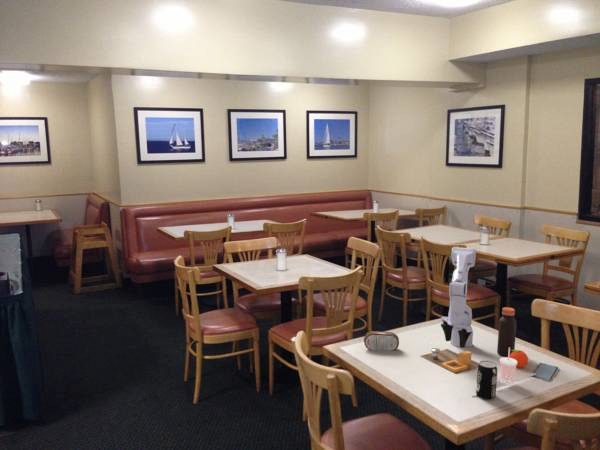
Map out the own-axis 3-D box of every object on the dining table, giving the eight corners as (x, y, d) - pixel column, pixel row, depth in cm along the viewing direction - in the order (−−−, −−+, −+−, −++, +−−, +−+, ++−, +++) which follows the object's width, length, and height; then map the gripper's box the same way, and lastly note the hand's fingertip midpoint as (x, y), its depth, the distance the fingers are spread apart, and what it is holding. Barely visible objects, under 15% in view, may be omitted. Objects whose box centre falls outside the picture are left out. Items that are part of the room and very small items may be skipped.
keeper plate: (447, 350, 226) (447, 348, 226) (484, 367, 209) (484, 365, 209) (419, 357, 218) (419, 356, 218) (455, 375, 201) (455, 373, 201)
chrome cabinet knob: (435, 356, 218) (435, 347, 218) (441, 359, 215) (441, 350, 215) (429, 357, 217) (429, 348, 216) (435, 360, 214) (435, 351, 213)
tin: (398, 350, 227) (399, 331, 226) (399, 353, 224) (399, 334, 222) (363, 348, 228) (364, 330, 227) (363, 351, 225) (364, 332, 224)
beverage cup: (514, 388, 191) (516, 352, 189) (496, 384, 194) (499, 348, 192) (517, 382, 196) (519, 346, 194) (500, 378, 200) (502, 343, 197)
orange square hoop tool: (462, 360, 214) (462, 348, 213) (475, 366, 208) (476, 354, 207) (441, 366, 208) (442, 354, 208) (454, 372, 202) (455, 360, 202)
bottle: (496, 355, 221) (499, 310, 218) (497, 350, 227) (500, 305, 224) (514, 358, 219) (517, 312, 216) (514, 352, 225) (517, 307, 222)
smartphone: (529, 375, 201) (539, 362, 213) (529, 378, 201) (539, 364, 213) (550, 381, 197) (559, 367, 209) (550, 383, 197) (559, 369, 209)
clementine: (503, 366, 210) (504, 349, 209) (510, 361, 215) (511, 345, 214) (523, 372, 205) (525, 355, 204) (530, 367, 210) (531, 350, 209)
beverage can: (473, 391, 188) (474, 360, 187) (490, 391, 189) (492, 359, 187) (480, 400, 182) (482, 367, 180) (499, 400, 182) (501, 367, 181)
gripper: (436, 307, 213) (435, 339, 215) (463, 317, 201) (461, 351, 203) (449, 305, 217) (447, 336, 219) (476, 315, 204) (474, 348, 206)
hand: (455, 343), depth 211 cm, fingers open, 7 cm apart
